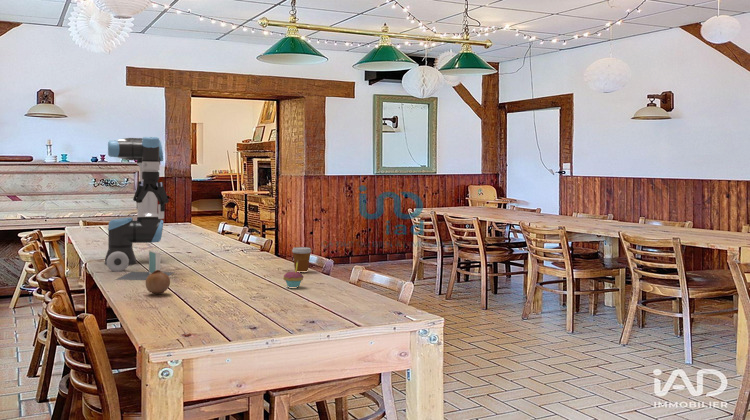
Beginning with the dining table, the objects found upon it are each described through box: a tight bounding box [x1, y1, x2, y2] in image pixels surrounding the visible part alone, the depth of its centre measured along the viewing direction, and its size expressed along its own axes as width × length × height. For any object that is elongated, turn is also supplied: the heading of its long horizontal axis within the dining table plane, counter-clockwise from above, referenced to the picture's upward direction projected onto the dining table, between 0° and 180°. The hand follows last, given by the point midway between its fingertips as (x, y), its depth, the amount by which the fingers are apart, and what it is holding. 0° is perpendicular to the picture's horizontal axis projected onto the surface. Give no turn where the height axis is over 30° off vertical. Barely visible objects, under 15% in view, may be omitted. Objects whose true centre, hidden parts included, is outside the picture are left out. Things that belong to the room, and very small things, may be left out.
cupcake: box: [282, 261, 304, 287], centre depth 298 cm, size 9×8×12 cm
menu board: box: [148, 249, 161, 274], centre depth 318 cm, size 2×10×11 cm, turn 36°
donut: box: [106, 251, 129, 272], centre depth 327 cm, size 10×3×10 cm, turn 114°
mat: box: [115, 271, 175, 281], centre depth 316 cm, size 22×20×1 cm
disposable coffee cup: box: [291, 246, 312, 271], centre depth 340 cm, size 10×10×12 cm
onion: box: [145, 269, 171, 295], centre depth 276 cm, size 10×9×10 cm
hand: (150, 217), depth 315 cm, fingers open, 13 cm apart
